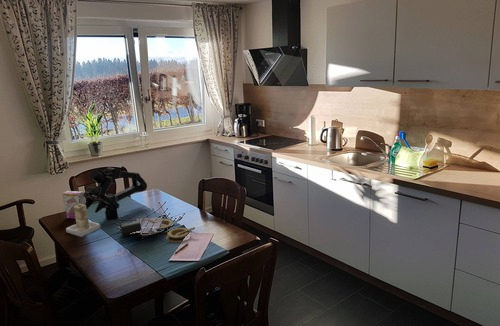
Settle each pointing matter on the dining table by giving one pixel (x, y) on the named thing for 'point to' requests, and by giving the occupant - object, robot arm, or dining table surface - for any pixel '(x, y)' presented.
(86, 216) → the maple block
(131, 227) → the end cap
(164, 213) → the dining table surface
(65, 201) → the candy bar box
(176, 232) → the tableware set
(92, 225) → the tray
